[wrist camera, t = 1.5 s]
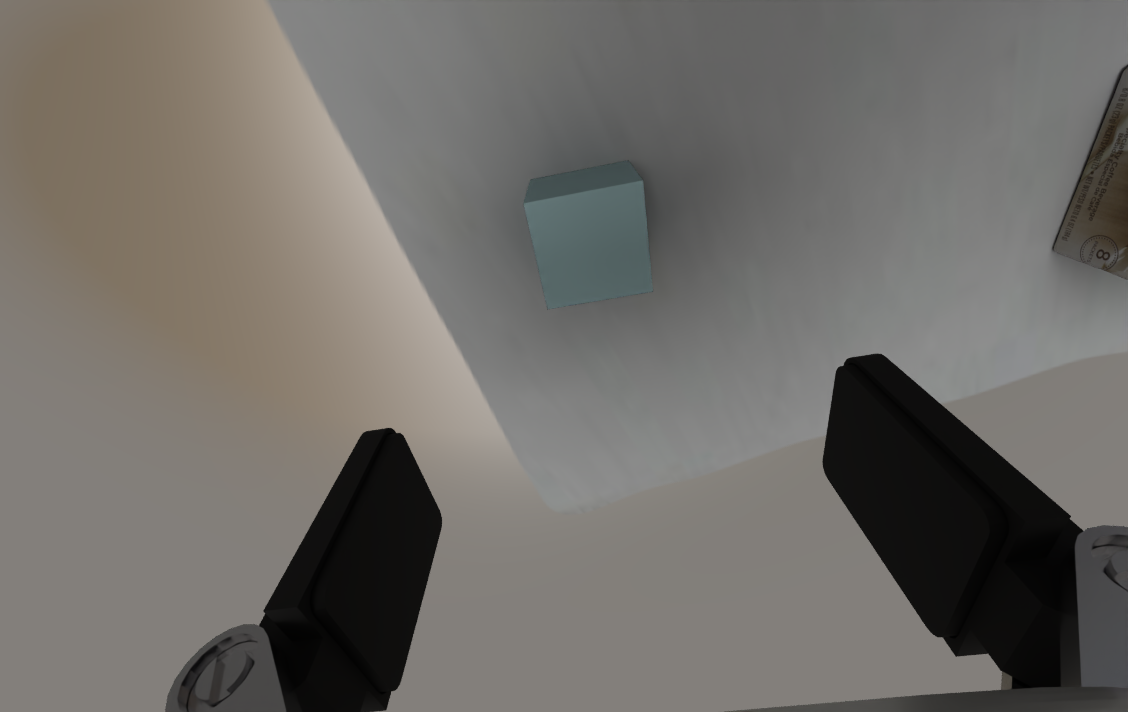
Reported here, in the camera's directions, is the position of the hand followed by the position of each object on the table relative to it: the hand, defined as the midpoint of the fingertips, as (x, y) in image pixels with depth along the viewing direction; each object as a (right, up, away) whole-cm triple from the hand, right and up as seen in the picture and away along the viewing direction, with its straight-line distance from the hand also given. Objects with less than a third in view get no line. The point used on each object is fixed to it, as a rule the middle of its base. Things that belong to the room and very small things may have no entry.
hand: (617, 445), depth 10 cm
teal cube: (0, +9, +14) cm, 17 cm away
